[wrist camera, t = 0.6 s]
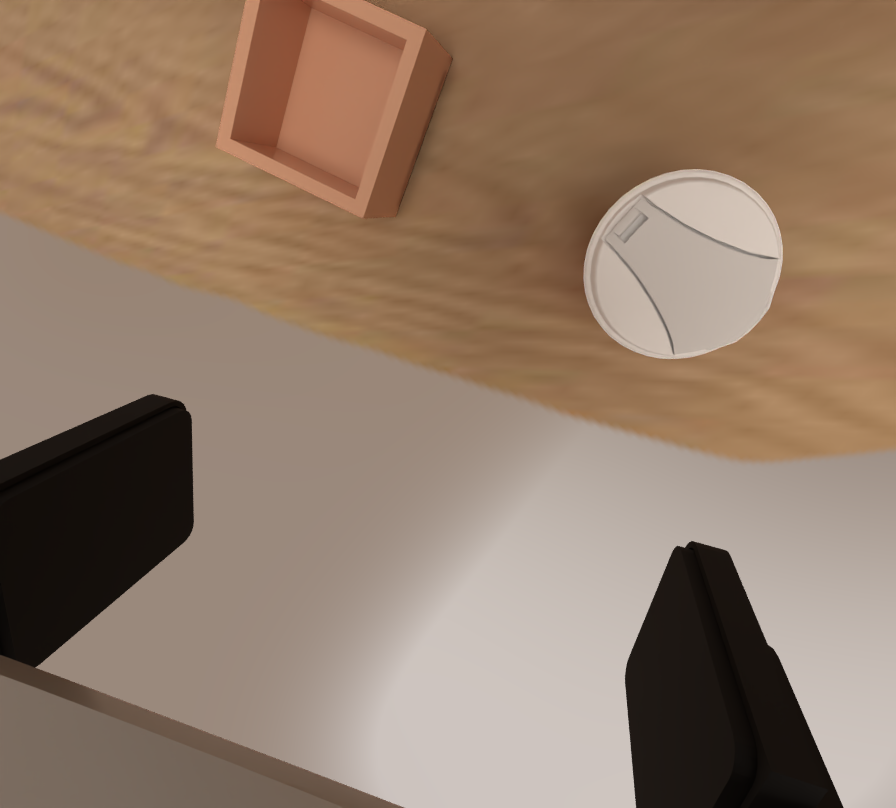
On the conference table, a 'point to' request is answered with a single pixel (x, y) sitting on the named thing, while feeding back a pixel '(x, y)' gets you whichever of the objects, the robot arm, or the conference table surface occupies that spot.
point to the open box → (333, 98)
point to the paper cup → (683, 264)
